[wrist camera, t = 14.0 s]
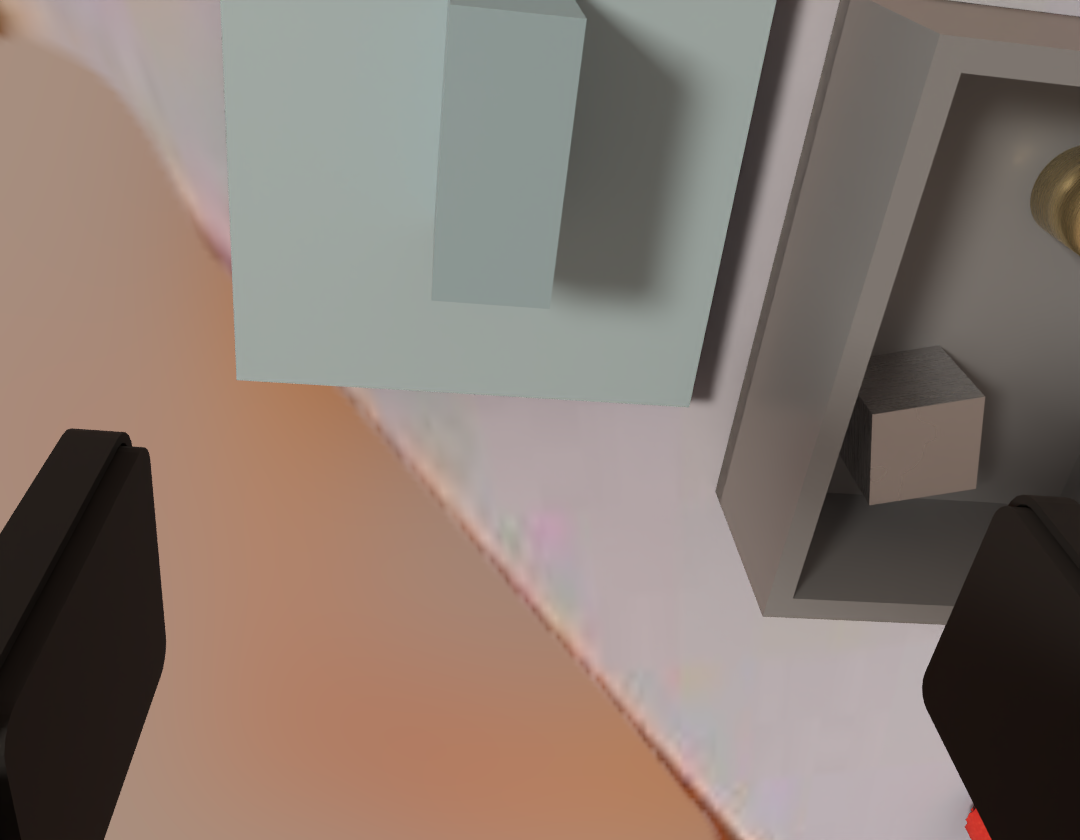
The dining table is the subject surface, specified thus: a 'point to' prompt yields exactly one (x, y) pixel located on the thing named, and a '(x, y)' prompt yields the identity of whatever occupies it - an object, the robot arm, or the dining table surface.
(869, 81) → the tub
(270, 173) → the lid
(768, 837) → the dining table surface
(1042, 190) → the brass knob
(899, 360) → the steel block
